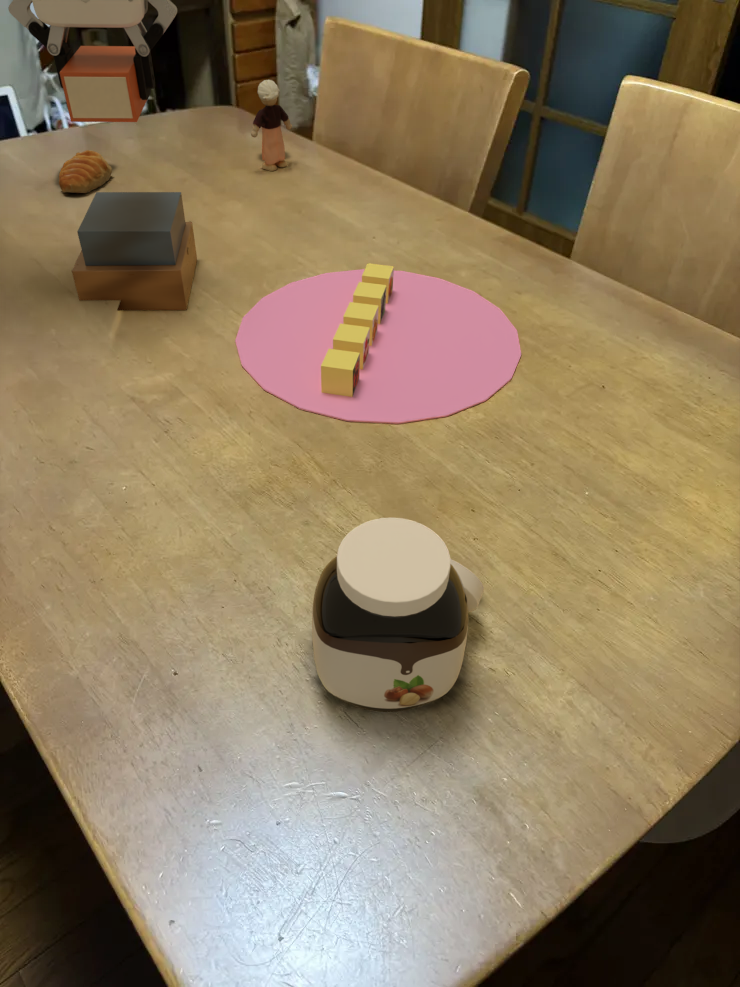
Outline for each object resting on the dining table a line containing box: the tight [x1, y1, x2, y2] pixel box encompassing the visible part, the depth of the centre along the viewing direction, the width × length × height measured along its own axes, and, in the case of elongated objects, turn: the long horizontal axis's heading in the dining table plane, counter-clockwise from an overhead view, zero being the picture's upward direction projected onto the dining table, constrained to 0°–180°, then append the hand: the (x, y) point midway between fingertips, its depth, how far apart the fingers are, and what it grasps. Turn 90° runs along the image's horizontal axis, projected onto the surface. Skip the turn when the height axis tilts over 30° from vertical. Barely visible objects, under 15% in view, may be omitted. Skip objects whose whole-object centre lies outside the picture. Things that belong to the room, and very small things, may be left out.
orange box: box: [60, 45, 148, 123], centre depth 77 cm, size 6×10×4 cm, turn 4°
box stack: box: [71, 191, 198, 311], centre depth 89 cm, size 12×13×9 cm
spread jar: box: [311, 517, 485, 714], centre depth 50 cm, size 12×11×12 cm
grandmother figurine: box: [250, 79, 293, 172], centre depth 117 cm, size 8×4×13 cm, turn 145°
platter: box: [234, 262, 522, 425], centre depth 84 cm, size 32×32×3 cm
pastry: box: [58, 149, 113, 194], centre depth 113 cm, size 9×7×4 cm
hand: (110, 94), depth 78 cm, fingers closed on orange box, 6 cm apart
